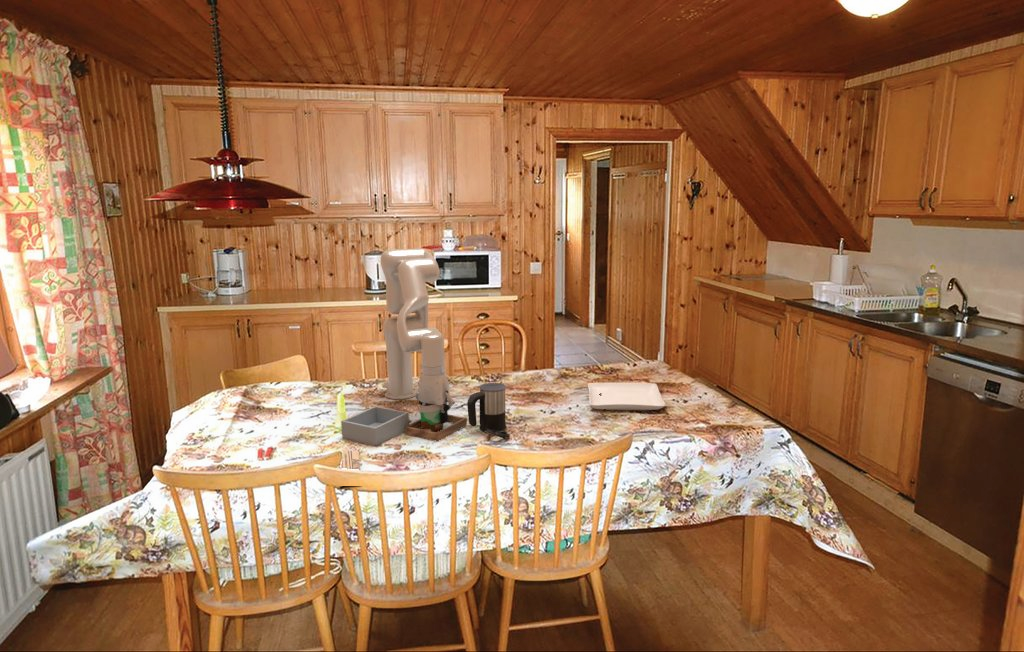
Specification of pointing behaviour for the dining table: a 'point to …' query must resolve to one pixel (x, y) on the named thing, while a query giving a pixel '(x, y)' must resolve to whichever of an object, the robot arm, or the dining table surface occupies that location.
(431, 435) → the walnut frame
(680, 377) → the dining table surface
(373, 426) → the grey bin
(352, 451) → the newspaper
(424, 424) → the food container
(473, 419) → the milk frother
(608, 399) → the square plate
